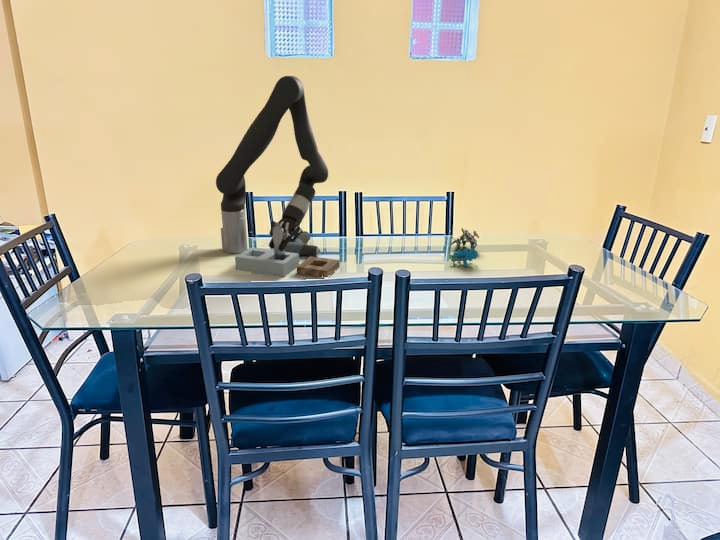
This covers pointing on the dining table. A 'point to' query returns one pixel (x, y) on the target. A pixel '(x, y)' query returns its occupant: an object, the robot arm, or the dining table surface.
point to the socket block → (318, 267)
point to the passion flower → (466, 239)
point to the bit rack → (266, 262)
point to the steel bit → (278, 242)
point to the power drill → (302, 246)
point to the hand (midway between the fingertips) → (275, 248)
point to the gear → (463, 256)
